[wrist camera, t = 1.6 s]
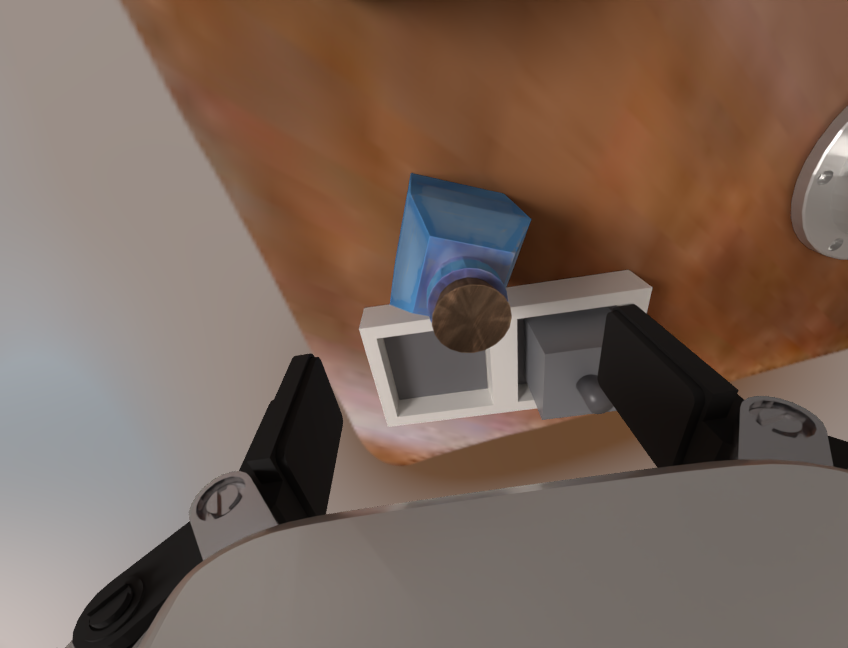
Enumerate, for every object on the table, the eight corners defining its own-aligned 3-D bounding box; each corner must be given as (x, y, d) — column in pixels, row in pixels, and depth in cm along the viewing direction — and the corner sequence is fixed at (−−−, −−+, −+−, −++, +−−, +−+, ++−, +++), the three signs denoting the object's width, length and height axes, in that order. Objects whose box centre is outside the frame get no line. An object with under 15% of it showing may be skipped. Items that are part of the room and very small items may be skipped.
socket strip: (628, 269, 26) (652, 287, 23) (610, 373, 31) (628, 396, 28) (364, 308, 27) (359, 329, 24) (390, 401, 32) (387, 426, 30)
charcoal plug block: (604, 303, 26) (660, 361, 20) (595, 365, 29) (641, 431, 23) (523, 314, 26) (555, 374, 20) (523, 375, 30) (551, 442, 24)
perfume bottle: (410, 172, 22) (408, 228, 12) (504, 193, 23) (577, 262, 13) (394, 263, 25) (382, 369, 15) (477, 279, 26) (518, 389, 16)
